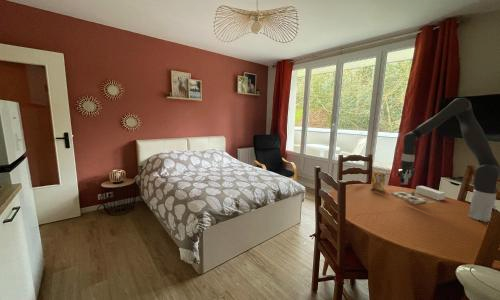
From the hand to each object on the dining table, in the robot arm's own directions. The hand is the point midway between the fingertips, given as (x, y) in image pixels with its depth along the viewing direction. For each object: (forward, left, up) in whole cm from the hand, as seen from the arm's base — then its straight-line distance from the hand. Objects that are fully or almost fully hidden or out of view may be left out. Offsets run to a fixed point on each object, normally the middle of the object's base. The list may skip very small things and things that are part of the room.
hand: (404, 182), depth 159 cm
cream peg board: (-4, 0, -12) cm, 12 cm away
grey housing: (-4, -21, -12) cm, 24 cm away
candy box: (+18, +5, -12) cm, 22 cm away
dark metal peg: (0, 0, -1) cm, 1 cm away
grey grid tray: (-4, -10, -12) cm, 16 cm away
